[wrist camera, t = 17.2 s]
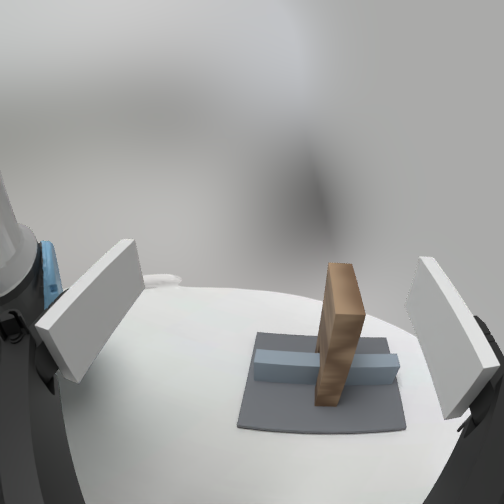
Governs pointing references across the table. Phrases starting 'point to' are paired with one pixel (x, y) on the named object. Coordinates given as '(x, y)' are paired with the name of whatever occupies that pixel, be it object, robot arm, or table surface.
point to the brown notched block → (338, 332)
